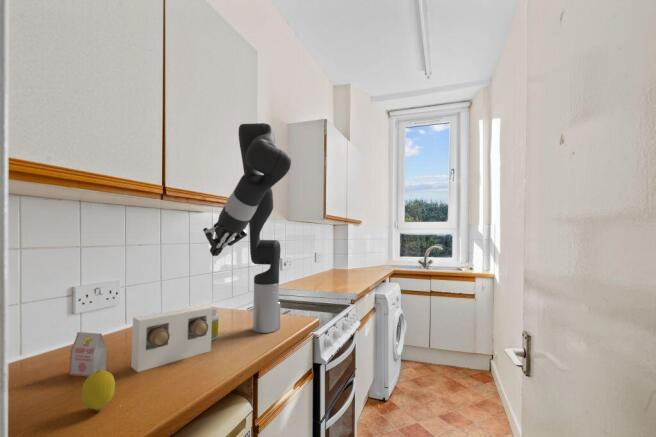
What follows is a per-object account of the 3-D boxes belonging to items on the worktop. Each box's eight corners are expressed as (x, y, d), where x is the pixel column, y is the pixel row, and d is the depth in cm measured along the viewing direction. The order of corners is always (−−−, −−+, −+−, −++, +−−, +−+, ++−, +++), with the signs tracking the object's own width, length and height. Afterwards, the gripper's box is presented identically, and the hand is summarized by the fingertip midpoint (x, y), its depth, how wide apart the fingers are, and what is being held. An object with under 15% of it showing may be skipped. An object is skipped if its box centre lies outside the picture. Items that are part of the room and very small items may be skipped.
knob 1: (160, 339, 88) (161, 323, 89) (169, 344, 84) (170, 328, 85) (143, 343, 85) (144, 327, 85) (152, 349, 81) (152, 331, 81)
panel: (202, 346, 99) (204, 304, 100) (210, 350, 96) (212, 307, 96) (131, 366, 84) (133, 317, 85) (137, 372, 81) (139, 320, 81)
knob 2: (198, 330, 97) (199, 316, 97) (208, 335, 93) (208, 319, 93) (184, 334, 93) (184, 319, 94) (193, 338, 89) (194, 322, 90)
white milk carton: (82, 368, 83) (84, 329, 83) (105, 370, 81) (107, 331, 82) (69, 374, 79) (71, 334, 79) (92, 377, 78) (94, 335, 78)
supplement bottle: (212, 341, 104) (213, 311, 104) (197, 340, 105) (198, 310, 106) (220, 336, 109) (221, 308, 110) (206, 335, 110) (207, 307, 111)
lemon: (117, 409, 64) (119, 369, 64) (83, 421, 60) (85, 378, 60) (110, 399, 67) (111, 361, 68) (77, 410, 63) (79, 369, 64)
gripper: (254, 201, 89) (229, 243, 97) (210, 198, 79) (186, 244, 87) (265, 220, 86) (238, 261, 93) (221, 219, 76) (195, 266, 83)
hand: (213, 253), depth 90 cm, fingers closed
